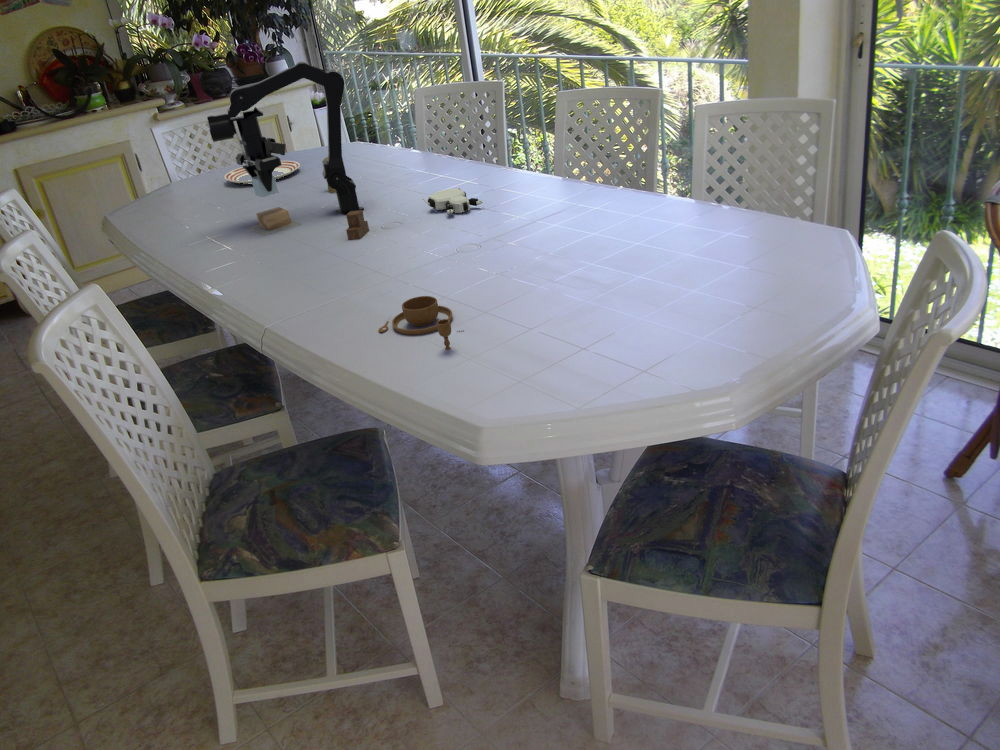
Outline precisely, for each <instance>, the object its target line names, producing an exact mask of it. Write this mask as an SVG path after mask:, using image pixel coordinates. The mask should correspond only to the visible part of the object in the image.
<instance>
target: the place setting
mask: <svg viewBox="0 0 1000 750" xmlns="http://www.w3.org/2000/svg"><path fill="white" fill-rule="evenodd" d="M401 309H402V312H400V313H398V314H396V316H394V317H393V319H392V321H391V323H392V327H393V329H394V330H395V331H396V332H397V333H399V334H402V335H408V336H420V335H426V334H431V333H434V332H436V331H437V332H438V335H439V336H440V337H442V338H443V340H444V341H443V345H444V346H445V347H444V350H446V351H449V350H451V349H452V347H451V346H450V345H451V342H450V339H449V336H450V335H451V333H452V324H451V321H452V320H453V311H452V309H451V308H448V307H447V306H443V305H439V304H438V299H437V298H436V297H435V296H430V295H422V296H420V295H419V296H416V297H415V296H414V297H413V298H409V299H407V300H405V301H404V302H403V303H402V305H401ZM440 313H441V314H444V315H445V316H447V317H448V318H443V319H439V320H437V321H436V325H433V326H429V325H431V324H432V323H433V322H434V321H435V320H436V319H437V317H438V315H439V314H440ZM404 319H405V321H406V322H407V323H408V324H411V325H413V326H415V327H419V329H418V328H417V329H406V328H405V329H404V328H400V327H398V325H399V323H400V322H402V321H404ZM389 323H390V321H386V322H385V324H384V325H383V326H381V327H379V328H378V332H379V333H381V334H383V333H385V332H387V331H388V330H389V326H388V324H389ZM427 326H429V327H427ZM420 327H425V328H420ZM464 331H465V330H464V329H463V330H462V332H464ZM456 332H461V330H457V331H456Z"/></svg>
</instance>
